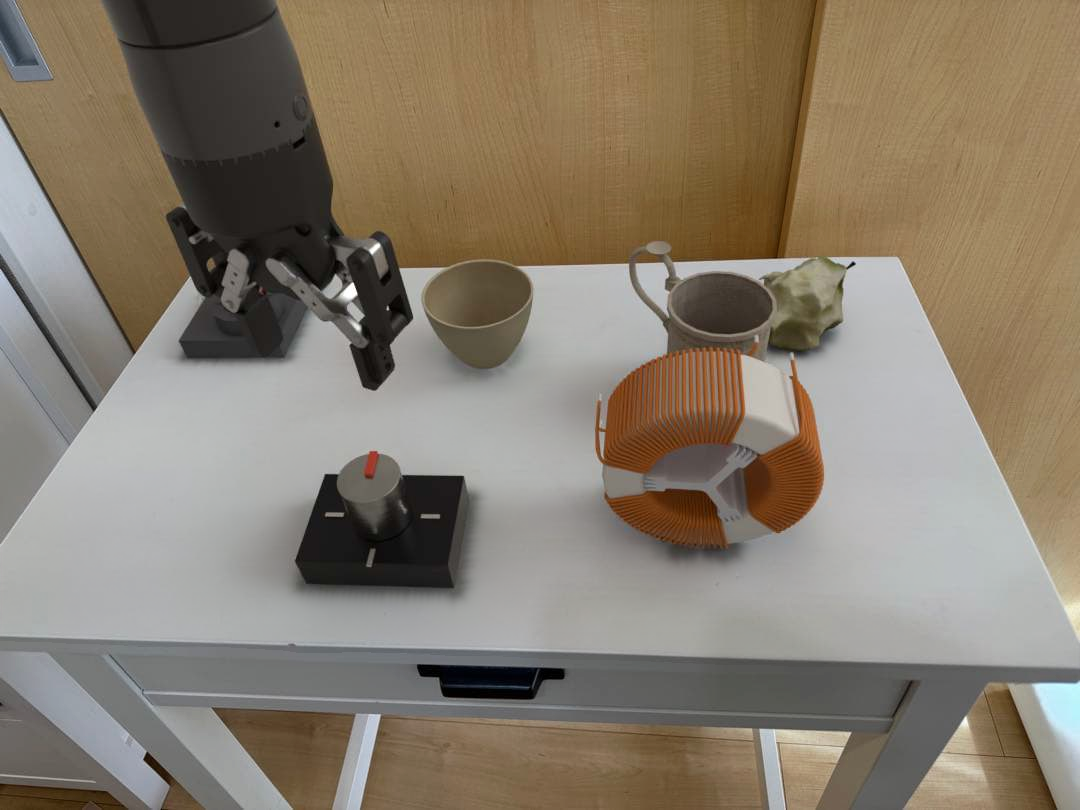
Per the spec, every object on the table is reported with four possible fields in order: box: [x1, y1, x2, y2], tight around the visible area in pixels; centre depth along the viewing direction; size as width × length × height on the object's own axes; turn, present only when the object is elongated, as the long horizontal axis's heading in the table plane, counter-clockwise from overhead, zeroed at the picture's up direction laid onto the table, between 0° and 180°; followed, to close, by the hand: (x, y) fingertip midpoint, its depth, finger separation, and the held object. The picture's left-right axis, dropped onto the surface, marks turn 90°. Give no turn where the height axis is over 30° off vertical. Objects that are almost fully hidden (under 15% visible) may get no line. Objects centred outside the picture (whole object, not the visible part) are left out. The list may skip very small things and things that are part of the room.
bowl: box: [420, 258, 534, 370], centre depth 70 cm, size 10×10×7 cm
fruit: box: [758, 254, 857, 352], centre depth 70 cm, size 9×9×8 cm
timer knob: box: [337, 450, 412, 541], centre depth 54 cm, size 4×4×5 cm
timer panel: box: [294, 473, 470, 589], centre depth 57 cm, size 11×9×3 cm
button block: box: [178, 290, 309, 358], centre depth 77 cm, size 11×10×4 cm
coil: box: [594, 335, 825, 549], centre depth 53 cm, size 7×15×15 cm, turn 83°
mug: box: [628, 240, 777, 362], centre depth 64 cm, size 14×10×12 cm
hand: (323, 364), depth 49 cm, fingers open, 8 cm apart
